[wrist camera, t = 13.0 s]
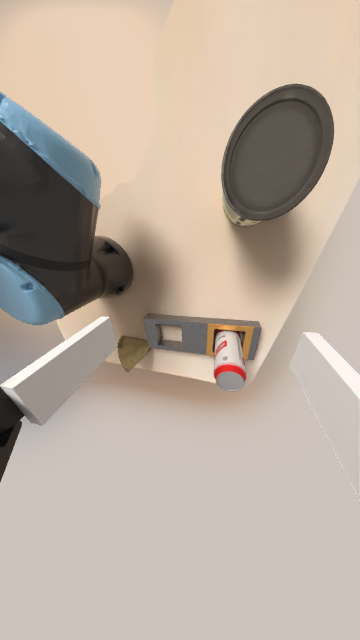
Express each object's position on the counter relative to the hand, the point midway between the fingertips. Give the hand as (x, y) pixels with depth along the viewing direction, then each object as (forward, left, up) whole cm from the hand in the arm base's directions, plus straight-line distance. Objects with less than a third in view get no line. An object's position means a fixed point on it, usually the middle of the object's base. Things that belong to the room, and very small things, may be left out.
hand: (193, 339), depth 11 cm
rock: (-24, -24, -29) cm, 45 cm away
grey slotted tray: (-3, -18, -29) cm, 34 cm away
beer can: (+5, -18, -29) cm, 34 cm away
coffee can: (+6, +13, -29) cm, 32 cm away
